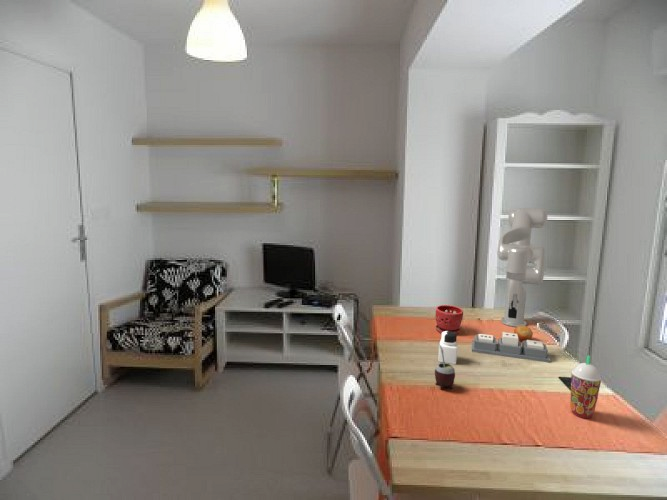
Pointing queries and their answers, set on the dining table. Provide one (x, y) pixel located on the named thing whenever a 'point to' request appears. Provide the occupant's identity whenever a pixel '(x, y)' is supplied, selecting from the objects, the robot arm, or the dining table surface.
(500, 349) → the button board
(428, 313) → the dining table surface
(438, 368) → the mate gourd
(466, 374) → the dining table surface
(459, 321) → the plant pot
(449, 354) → the medicine bottle
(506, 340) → the two dot tile
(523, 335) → the fruit
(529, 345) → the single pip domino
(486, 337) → the three dot tile
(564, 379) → the smartphone
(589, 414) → the smoothie
